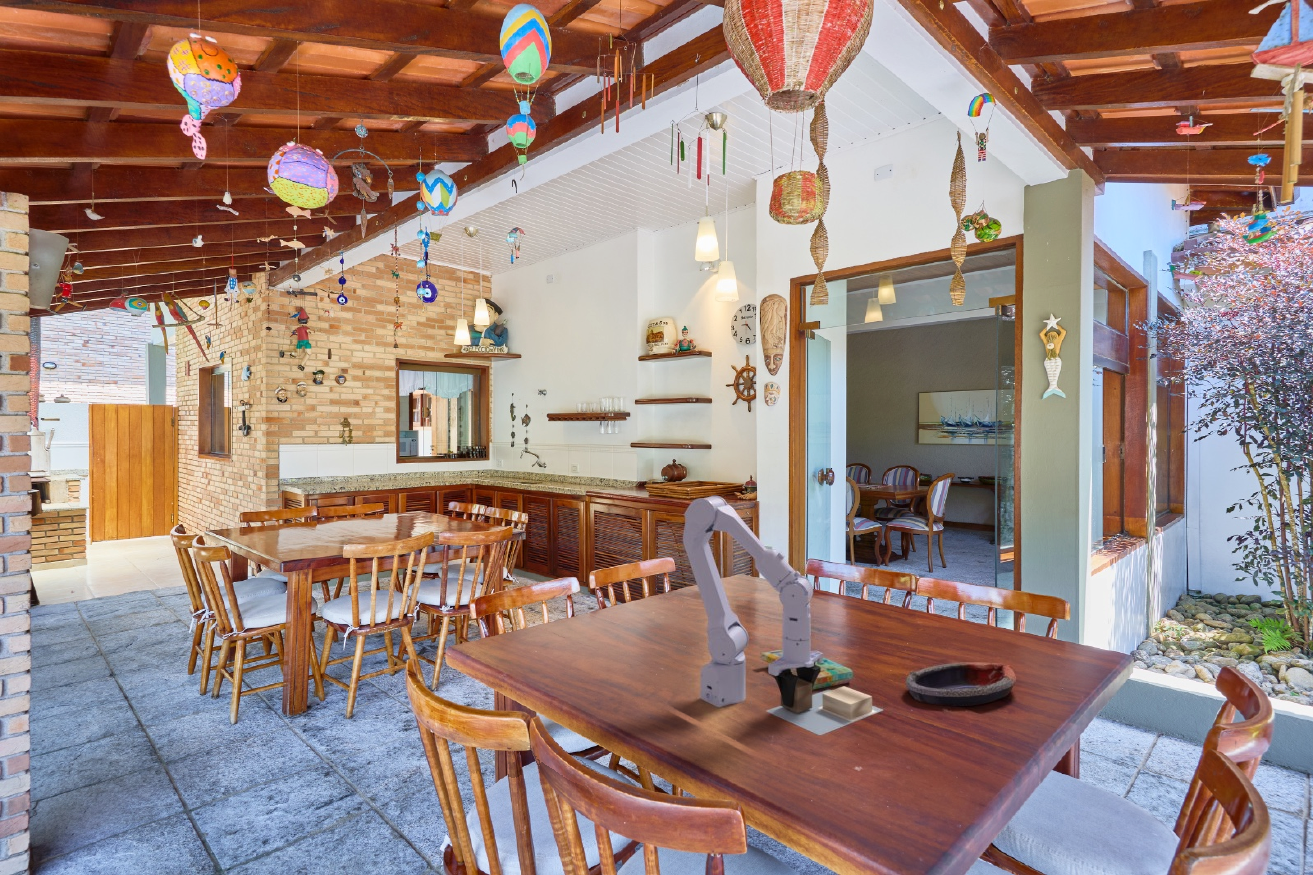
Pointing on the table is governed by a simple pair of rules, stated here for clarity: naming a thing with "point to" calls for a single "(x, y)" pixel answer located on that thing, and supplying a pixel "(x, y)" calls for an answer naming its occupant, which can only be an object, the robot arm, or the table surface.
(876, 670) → the table surface
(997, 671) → the dish
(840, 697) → the maple block
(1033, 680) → the table surface
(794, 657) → the robot arm
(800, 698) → the walnut block
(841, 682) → the puzzle game
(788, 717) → the board
